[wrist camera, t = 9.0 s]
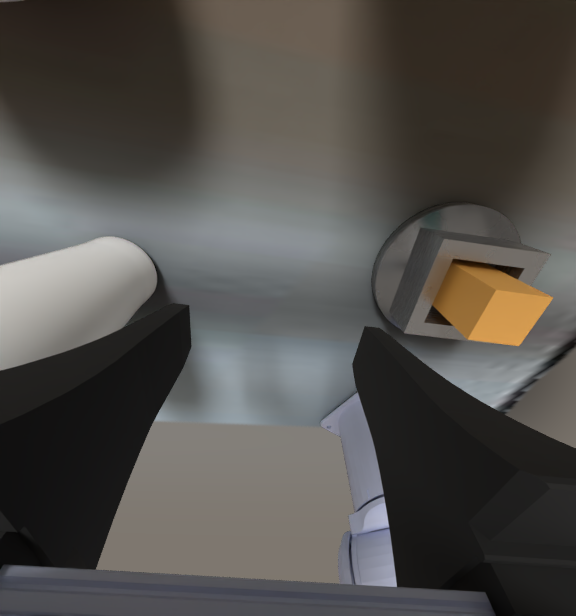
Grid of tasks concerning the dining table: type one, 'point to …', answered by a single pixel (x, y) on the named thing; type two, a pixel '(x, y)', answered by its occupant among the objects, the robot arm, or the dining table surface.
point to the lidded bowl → (10, 0)
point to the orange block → (488, 303)
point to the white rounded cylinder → (70, 297)
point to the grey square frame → (444, 262)
